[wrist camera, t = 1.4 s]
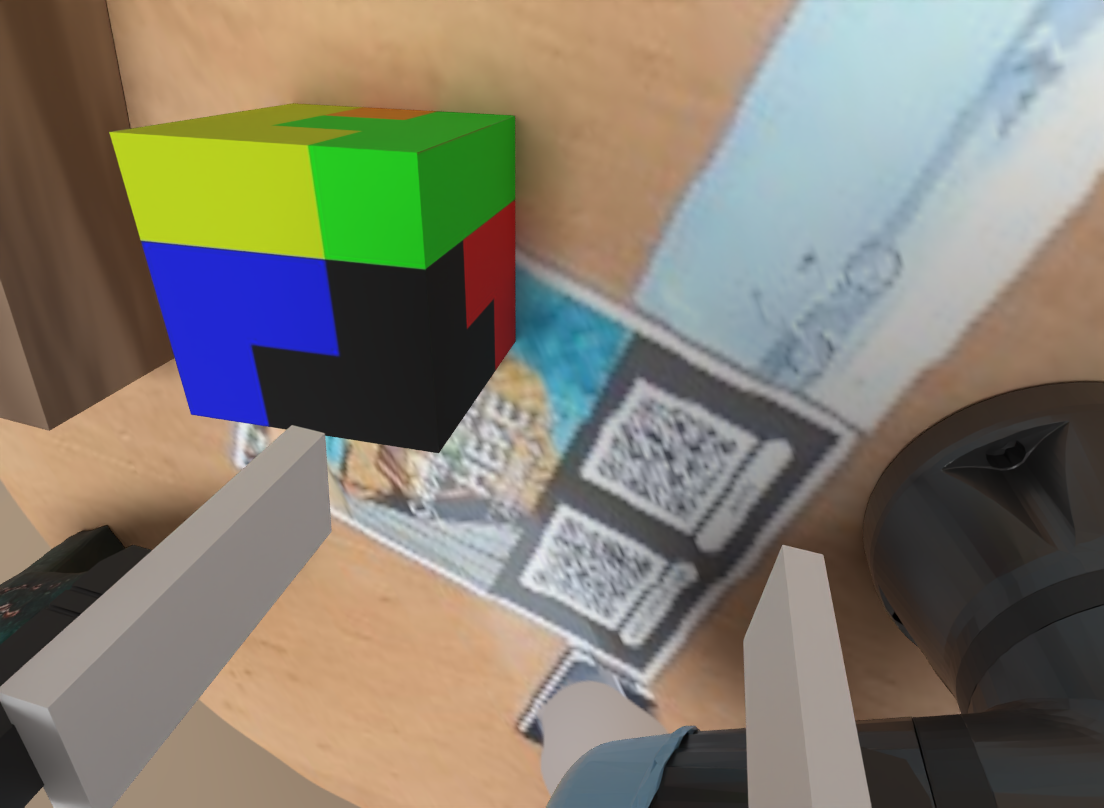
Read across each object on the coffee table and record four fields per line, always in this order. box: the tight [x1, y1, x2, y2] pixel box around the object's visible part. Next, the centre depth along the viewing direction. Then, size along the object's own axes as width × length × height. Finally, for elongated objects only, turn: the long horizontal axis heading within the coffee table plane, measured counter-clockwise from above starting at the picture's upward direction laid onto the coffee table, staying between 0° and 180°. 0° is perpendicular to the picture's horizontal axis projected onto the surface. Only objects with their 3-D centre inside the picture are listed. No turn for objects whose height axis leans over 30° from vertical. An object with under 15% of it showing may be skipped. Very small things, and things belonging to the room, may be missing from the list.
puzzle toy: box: [109, 104, 515, 453], centre depth 26 cm, size 10×10×10 cm
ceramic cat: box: [0, 526, 125, 645], centre depth 36 cm, size 20×6×20 cm, turn 109°
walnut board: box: [0, 0, 174, 431], centre depth 28 cm, size 3×20×8 cm, turn 172°
